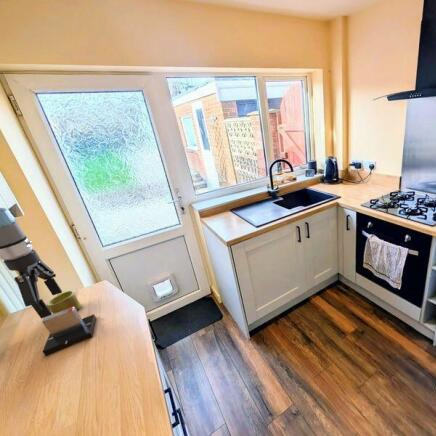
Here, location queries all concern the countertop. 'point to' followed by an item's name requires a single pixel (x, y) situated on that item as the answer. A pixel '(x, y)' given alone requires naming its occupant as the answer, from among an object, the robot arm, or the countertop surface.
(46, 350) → the base
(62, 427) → the countertop surface
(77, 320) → the tap handle
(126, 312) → the countertop surface
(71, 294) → the mug
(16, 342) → the countertop surface
